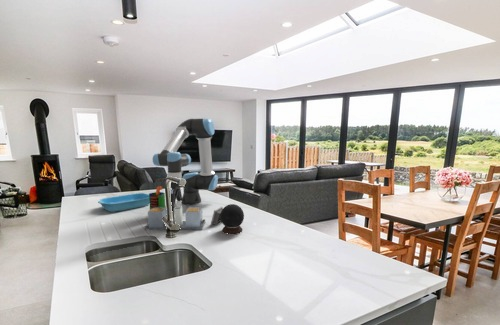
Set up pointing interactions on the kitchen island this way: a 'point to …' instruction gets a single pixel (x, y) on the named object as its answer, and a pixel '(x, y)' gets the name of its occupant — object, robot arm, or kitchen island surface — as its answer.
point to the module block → (178, 215)
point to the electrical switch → (216, 216)
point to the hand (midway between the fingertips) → (176, 215)
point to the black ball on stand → (232, 219)
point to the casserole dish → (125, 202)
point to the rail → (191, 223)
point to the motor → (157, 198)
